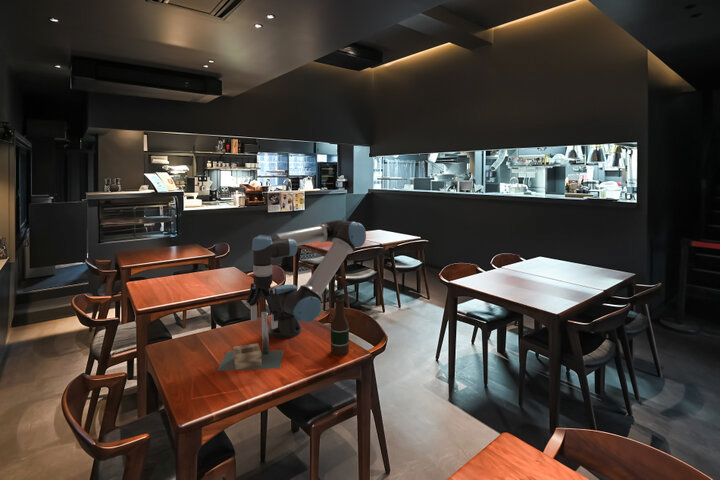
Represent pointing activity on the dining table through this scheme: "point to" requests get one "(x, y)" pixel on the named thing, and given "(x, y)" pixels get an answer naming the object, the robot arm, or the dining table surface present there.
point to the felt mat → (268, 362)
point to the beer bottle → (339, 330)
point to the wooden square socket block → (247, 356)
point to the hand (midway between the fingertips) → (264, 324)
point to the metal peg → (265, 333)
